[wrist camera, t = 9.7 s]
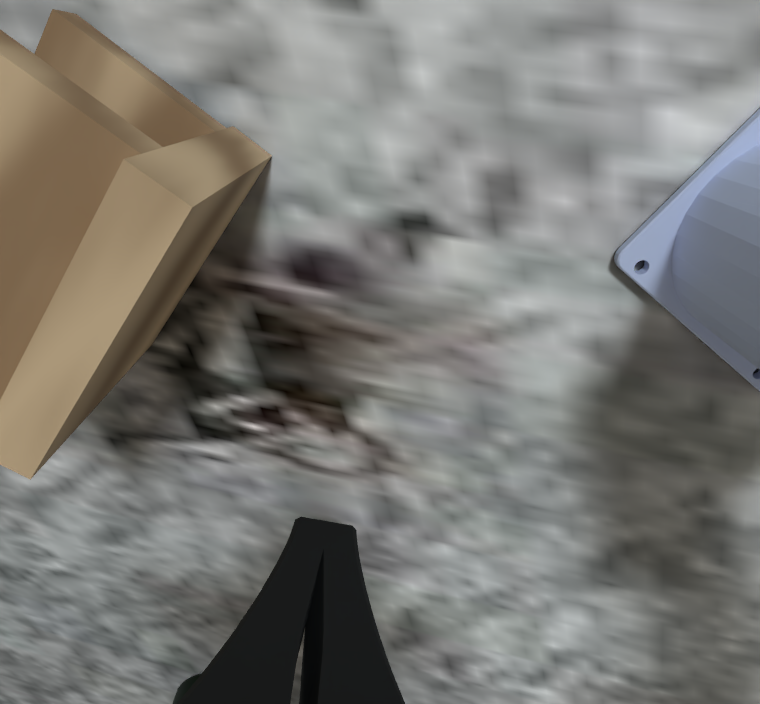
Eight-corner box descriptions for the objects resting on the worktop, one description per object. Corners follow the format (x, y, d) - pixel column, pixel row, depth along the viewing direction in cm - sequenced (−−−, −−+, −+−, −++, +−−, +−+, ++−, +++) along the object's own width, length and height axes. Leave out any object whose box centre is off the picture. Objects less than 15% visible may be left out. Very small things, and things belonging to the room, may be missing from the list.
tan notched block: (90, 16, 16) (271, 155, 18) (-10, 246, 19) (151, 344, 21) (-151, -33, 9) (192, 207, 11) (-241, 344, 12) (30, 479, 14)
